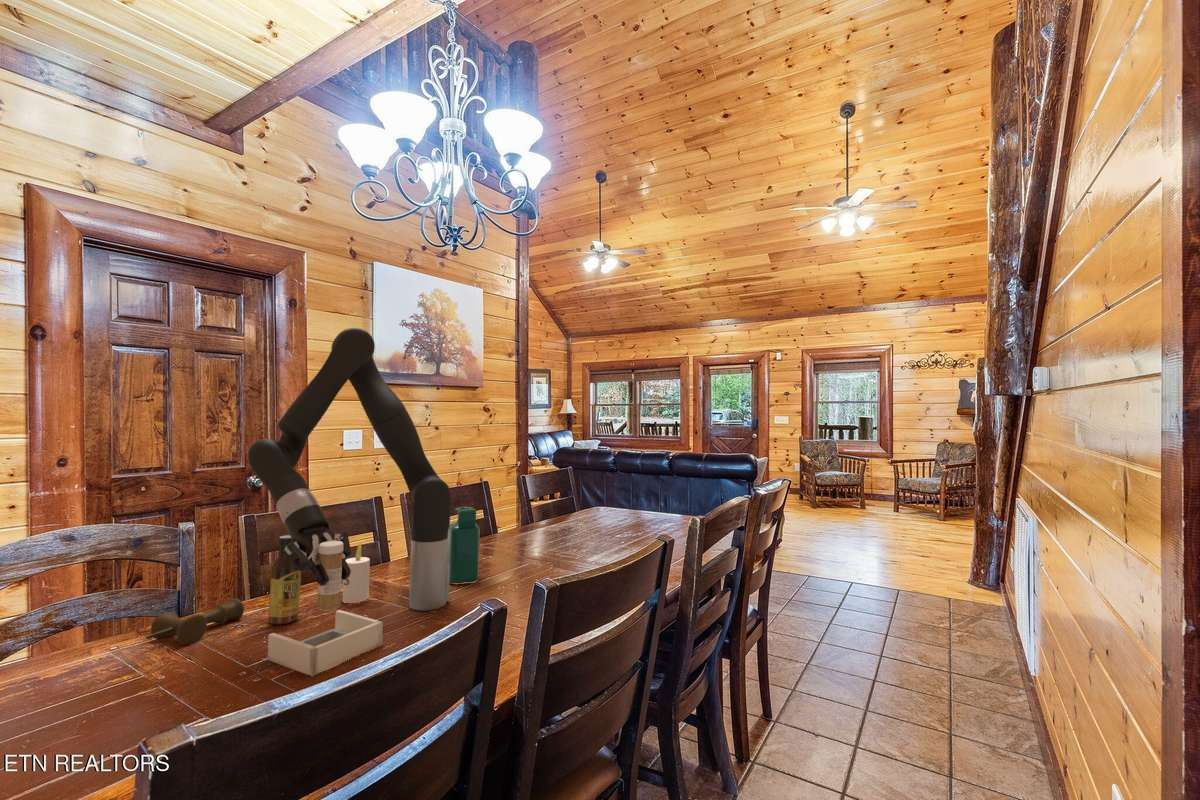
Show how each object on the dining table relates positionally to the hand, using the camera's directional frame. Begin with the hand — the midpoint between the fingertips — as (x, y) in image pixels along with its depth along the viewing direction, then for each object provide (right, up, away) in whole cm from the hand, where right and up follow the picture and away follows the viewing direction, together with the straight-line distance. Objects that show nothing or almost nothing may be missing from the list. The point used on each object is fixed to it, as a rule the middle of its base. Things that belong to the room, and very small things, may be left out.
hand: (336, 579), depth 111 cm
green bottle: (+13, -17, +50) cm, 54 cm away
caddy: (-2, -15, +1) cm, 15 cm away
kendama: (-36, -15, +9) cm, 40 cm away
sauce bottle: (-21, -16, +17) cm, 31 cm away
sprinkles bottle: (-2, -6, +1) cm, 7 cm away
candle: (-11, -16, +32) cm, 37 cm away
